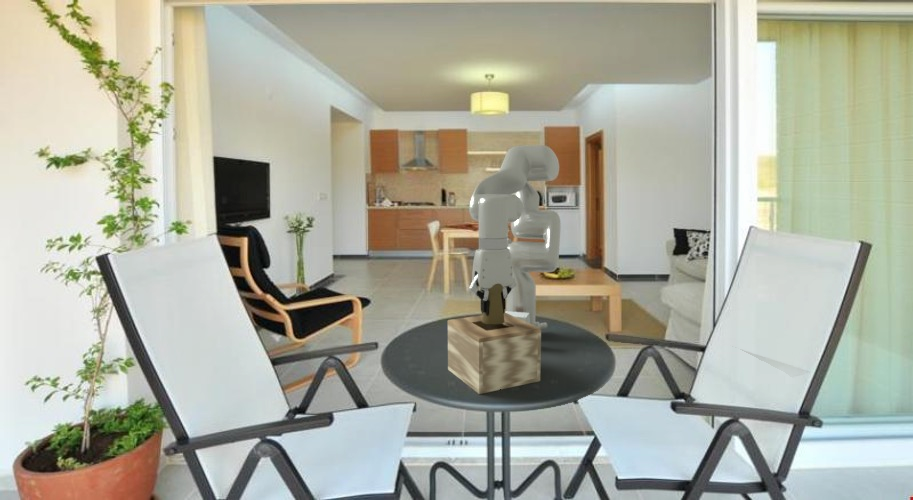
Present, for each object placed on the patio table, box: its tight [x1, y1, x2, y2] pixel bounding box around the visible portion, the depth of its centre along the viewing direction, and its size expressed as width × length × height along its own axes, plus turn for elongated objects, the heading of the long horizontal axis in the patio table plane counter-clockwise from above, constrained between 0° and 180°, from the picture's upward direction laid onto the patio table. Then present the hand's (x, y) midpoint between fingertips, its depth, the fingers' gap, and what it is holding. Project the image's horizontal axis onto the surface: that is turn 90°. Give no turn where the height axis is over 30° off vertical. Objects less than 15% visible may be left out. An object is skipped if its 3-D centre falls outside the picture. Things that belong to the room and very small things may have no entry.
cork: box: [481, 284, 505, 325], centre depth 132 cm, size 6×6×11 cm
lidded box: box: [447, 313, 542, 395], centre depth 134 cm, size 18×18×14 cm
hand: (493, 312), depth 133 cm, fingers closed on cork, 3 cm apart
